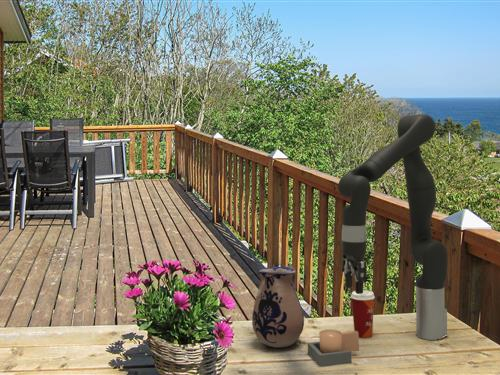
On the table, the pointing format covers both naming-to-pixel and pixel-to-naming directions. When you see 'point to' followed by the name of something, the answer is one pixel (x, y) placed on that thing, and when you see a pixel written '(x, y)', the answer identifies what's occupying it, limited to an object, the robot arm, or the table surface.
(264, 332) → the ceramic pitcher
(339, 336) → the peach mallet
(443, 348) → the table surface
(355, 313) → the coffee cup
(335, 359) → the charcoal holder
